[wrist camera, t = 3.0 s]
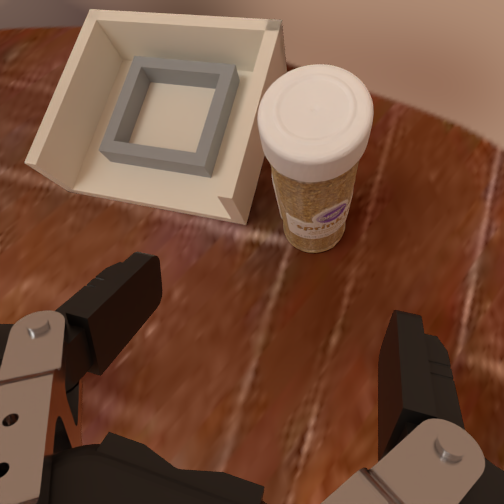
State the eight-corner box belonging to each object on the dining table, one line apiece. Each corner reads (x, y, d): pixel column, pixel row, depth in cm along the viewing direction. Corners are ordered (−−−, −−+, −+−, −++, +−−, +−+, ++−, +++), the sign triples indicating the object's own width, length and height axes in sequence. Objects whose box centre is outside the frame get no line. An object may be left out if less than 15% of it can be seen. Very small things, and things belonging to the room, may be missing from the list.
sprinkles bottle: (313, 267, 26) (312, 184, 13) (270, 224, 27) (231, 111, 14) (359, 224, 26) (402, 102, 13) (314, 184, 28) (315, 39, 15)
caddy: (68, 191, 31) (24, 162, 26) (121, 57, 34) (89, 9, 29) (246, 224, 28) (232, 198, 23) (286, 71, 31) (281, 20, 26)
